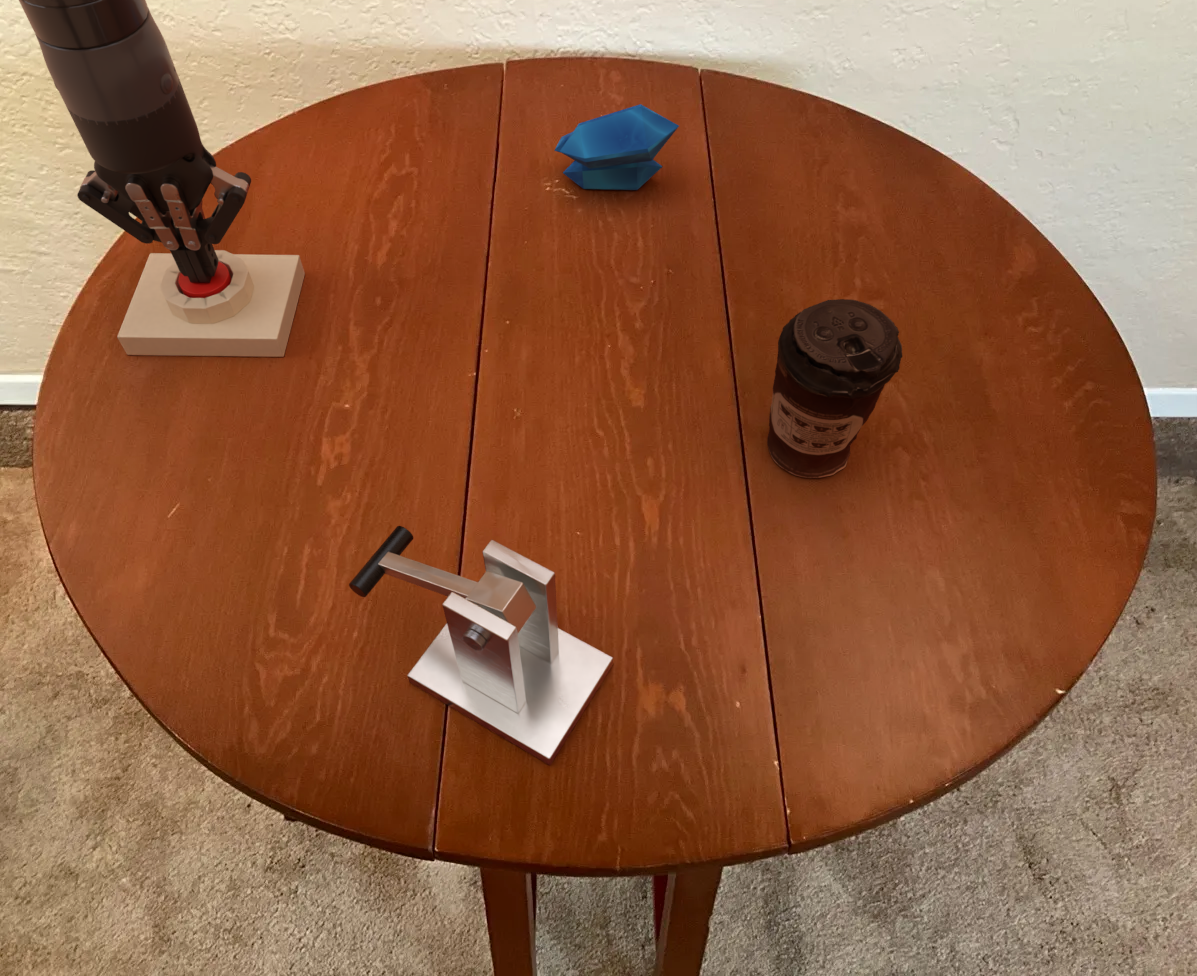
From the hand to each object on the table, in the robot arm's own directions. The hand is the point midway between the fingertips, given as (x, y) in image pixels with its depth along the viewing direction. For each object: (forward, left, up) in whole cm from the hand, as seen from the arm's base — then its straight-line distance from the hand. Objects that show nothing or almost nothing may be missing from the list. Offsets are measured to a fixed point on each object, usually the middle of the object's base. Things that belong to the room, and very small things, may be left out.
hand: (203, 275), depth 79 cm
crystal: (+34, +18, -4) cm, 39 cm away
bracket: (+27, -33, -4) cm, 43 cm away
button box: (0, 0, -4) cm, 4 cm away
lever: (+24, -31, +3) cm, 39 cm away
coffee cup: (+49, -14, -4) cm, 51 cm away
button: (0, 0, -2) cm, 2 cm away
